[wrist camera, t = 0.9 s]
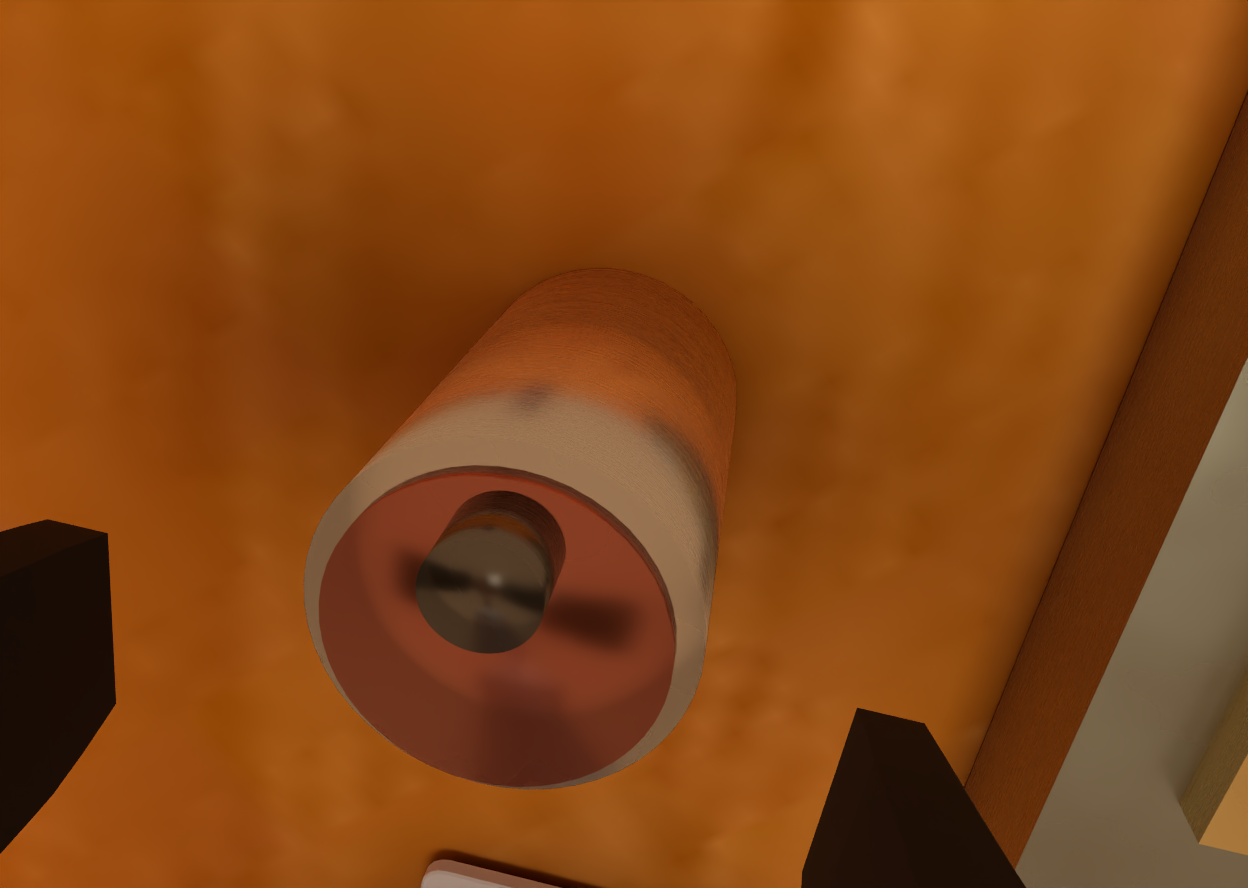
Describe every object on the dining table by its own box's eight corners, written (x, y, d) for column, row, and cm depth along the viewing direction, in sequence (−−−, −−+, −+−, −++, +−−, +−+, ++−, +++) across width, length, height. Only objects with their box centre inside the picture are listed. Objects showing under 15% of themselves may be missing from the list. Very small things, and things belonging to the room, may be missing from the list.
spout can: (707, 536, 18) (648, 921, 11) (466, 482, 18) (242, 819, 11) (763, 298, 16) (740, 557, 9) (495, 243, 17) (249, 447, 9)
